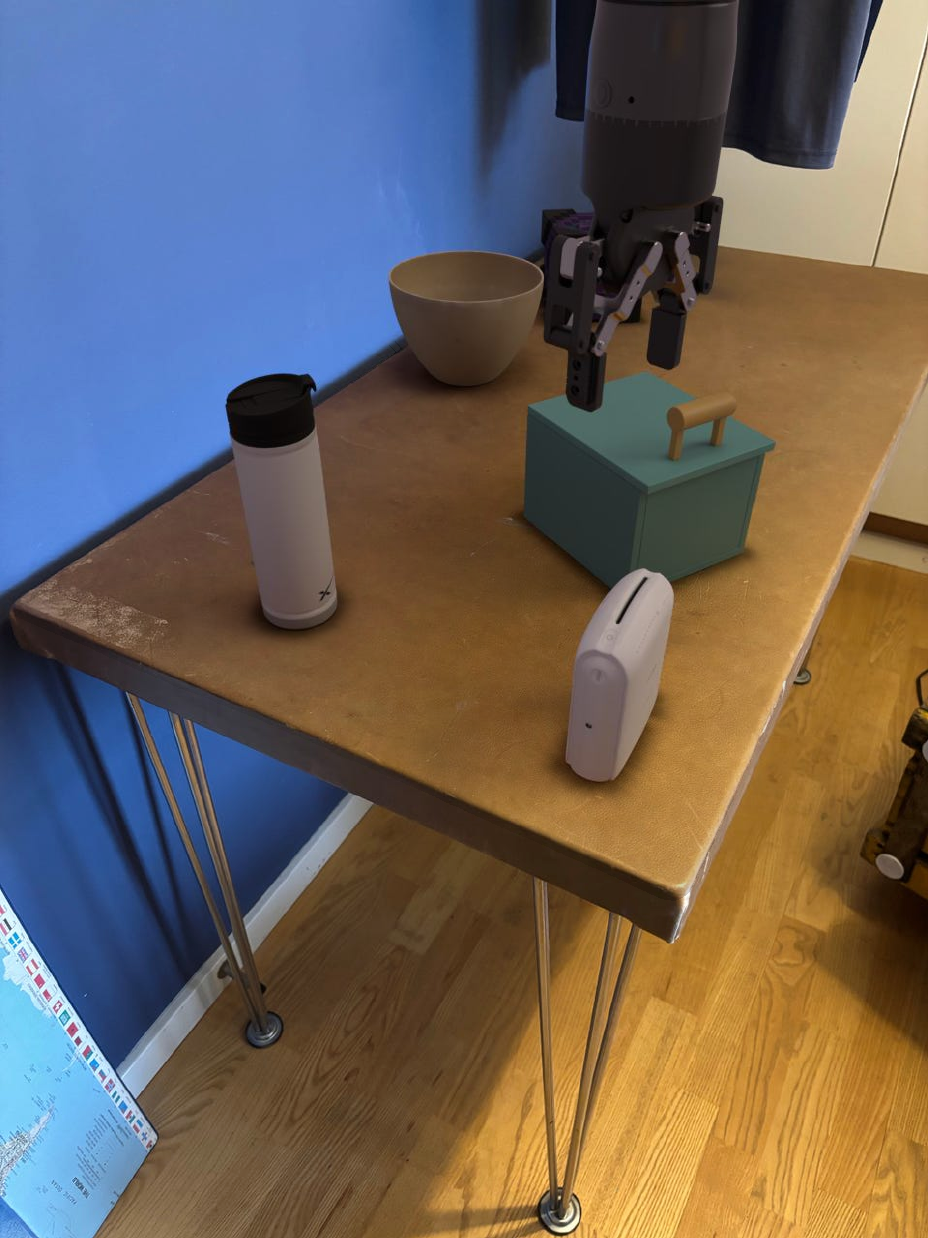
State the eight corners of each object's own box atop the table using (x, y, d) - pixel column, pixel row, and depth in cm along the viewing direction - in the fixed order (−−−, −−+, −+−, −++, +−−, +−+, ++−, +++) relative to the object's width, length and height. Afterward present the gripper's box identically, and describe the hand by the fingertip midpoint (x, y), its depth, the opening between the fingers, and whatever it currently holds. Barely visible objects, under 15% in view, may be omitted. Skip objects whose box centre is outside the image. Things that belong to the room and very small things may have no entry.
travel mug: (350, 619, 76) (325, 395, 63) (272, 638, 74) (230, 411, 61) (330, 577, 80) (303, 360, 68) (256, 595, 78) (214, 375, 66)
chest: (743, 553, 83) (767, 446, 76) (625, 601, 77) (640, 491, 70) (633, 478, 93) (645, 379, 86) (522, 516, 88) (526, 413, 81)
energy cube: (538, 295, 134) (542, 209, 127) (618, 291, 135) (626, 205, 128) (554, 326, 125) (559, 235, 118) (639, 321, 126) (649, 231, 119)
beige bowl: (469, 419, 104) (468, 313, 96) (364, 374, 113) (356, 274, 106) (568, 371, 114) (575, 272, 106) (464, 333, 123) (463, 240, 116)
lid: (774, 449, 75) (788, 390, 72) (646, 495, 70) (655, 432, 67) (645, 378, 86) (652, 323, 83) (526, 413, 81) (529, 355, 78)
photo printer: (615, 793, 61) (636, 654, 53) (556, 771, 63) (568, 633, 55) (663, 698, 68) (688, 563, 60) (609, 680, 70) (626, 546, 62)
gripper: (636, 131, 42) (605, 443, 53) (786, 89, 50) (734, 368, 61) (515, 110, 47) (508, 404, 57) (671, 75, 54) (640, 338, 65)
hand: (624, 385), depth 59 cm, fingers open, 8 cm apart
